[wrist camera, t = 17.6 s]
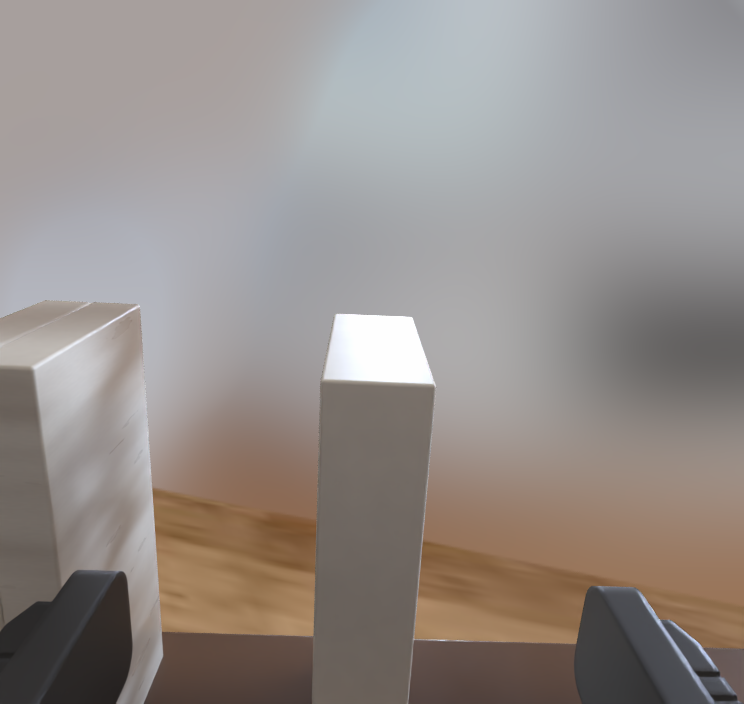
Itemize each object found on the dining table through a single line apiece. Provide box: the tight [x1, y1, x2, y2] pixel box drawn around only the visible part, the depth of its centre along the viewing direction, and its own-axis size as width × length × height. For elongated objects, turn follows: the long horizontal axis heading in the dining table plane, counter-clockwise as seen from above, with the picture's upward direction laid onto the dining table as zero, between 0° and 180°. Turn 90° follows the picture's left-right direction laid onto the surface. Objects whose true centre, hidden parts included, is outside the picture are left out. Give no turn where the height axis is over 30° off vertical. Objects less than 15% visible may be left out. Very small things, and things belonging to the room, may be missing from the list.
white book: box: [312, 314, 436, 704], centre depth 14 cm, size 5×2×11 cm, turn 1°
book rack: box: [0, 300, 744, 704], centre depth 14 cm, size 7×27×12 cm, turn 91°
